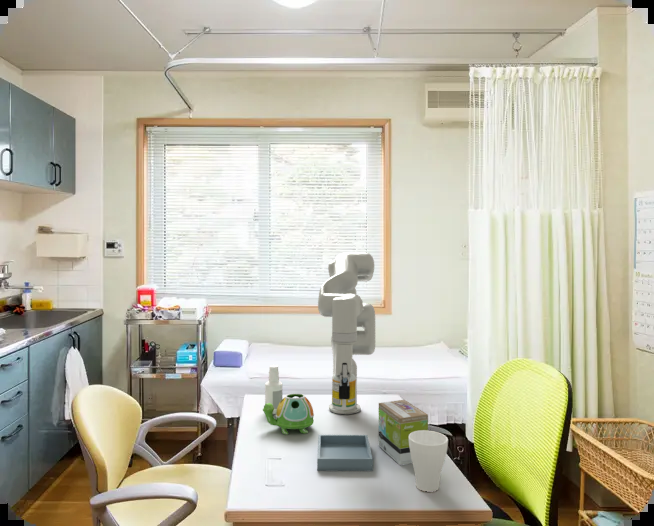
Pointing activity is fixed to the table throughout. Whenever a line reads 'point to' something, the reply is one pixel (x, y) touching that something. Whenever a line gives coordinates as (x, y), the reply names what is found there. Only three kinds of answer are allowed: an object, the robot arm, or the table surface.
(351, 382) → the supplement bottle
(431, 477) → the cup
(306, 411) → the turtle holder
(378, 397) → the table surface
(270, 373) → the spray bottle
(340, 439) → the tray
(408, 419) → the tea box
